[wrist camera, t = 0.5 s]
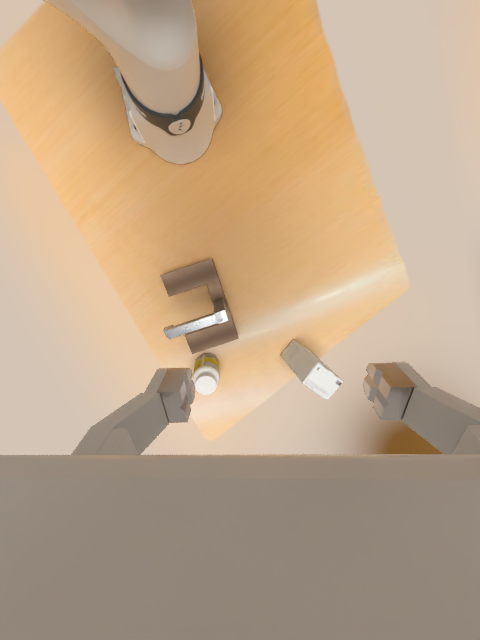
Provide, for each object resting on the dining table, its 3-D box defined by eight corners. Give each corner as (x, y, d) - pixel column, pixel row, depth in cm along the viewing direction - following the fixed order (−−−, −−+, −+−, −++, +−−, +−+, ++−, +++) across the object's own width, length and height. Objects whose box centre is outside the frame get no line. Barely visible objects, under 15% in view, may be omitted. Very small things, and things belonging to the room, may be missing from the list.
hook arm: (176, 310, 56) (160, 331, 40) (222, 295, 56) (224, 310, 40) (179, 317, 56) (165, 341, 40) (224, 303, 57) (228, 320, 40)
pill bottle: (199, 376, 61) (196, 401, 51) (192, 356, 59) (187, 377, 49) (221, 370, 61) (223, 393, 51) (215, 349, 60) (215, 369, 49)
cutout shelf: (163, 274, 53) (160, 275, 51) (212, 258, 54) (211, 258, 51) (193, 349, 59) (192, 353, 56) (237, 334, 59) (238, 338, 56)
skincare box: (279, 354, 62) (298, 383, 48) (293, 337, 61) (318, 361, 47) (301, 370, 64) (326, 402, 50) (315, 354, 63) (345, 382, 49)
